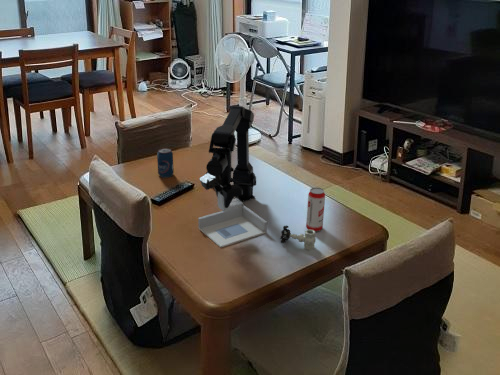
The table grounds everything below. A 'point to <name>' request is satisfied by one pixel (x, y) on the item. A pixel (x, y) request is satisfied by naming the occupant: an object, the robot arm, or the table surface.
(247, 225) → the tray
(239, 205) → the bracket
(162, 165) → the soda can
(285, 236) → the valve
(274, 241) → the table surface
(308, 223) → the beer can
